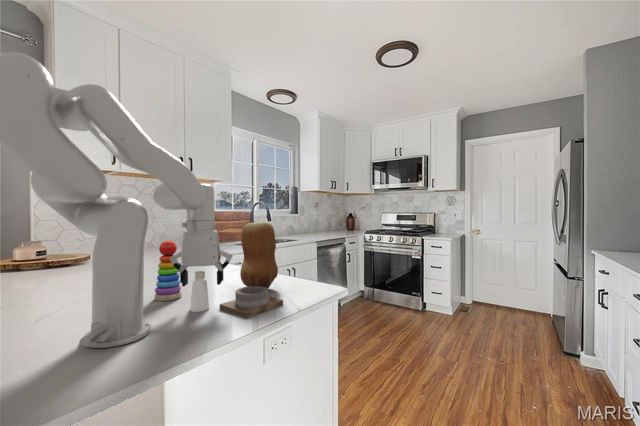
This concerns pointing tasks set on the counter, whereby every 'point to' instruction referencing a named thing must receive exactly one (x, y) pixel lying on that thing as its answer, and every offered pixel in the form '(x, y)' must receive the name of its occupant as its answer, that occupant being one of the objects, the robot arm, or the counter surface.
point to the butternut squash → (258, 255)
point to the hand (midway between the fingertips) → (202, 284)
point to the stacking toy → (167, 274)
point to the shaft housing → (251, 302)
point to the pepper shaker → (199, 293)
